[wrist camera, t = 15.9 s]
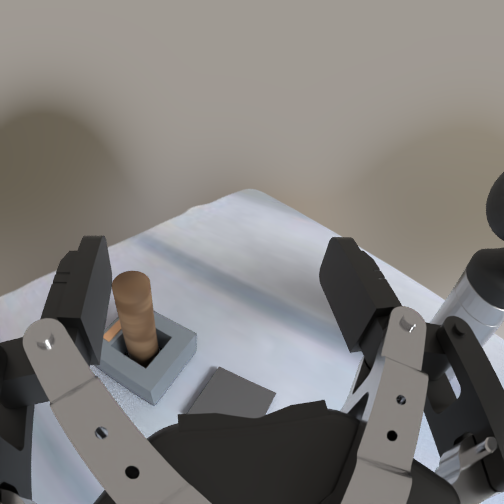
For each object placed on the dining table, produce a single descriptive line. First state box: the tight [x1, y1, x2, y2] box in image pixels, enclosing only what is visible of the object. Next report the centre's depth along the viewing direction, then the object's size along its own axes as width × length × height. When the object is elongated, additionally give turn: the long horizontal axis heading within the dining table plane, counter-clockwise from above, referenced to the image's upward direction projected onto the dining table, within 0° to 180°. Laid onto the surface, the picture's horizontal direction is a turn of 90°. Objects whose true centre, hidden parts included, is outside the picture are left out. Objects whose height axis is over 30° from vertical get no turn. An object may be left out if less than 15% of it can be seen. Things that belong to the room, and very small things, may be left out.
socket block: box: [95, 311, 197, 406], centre depth 38 cm, size 10×10×4 cm
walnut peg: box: [112, 271, 159, 369], centre depth 35 cm, size 4×4×14 cm
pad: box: [187, 367, 276, 418], centre depth 36 cm, size 8×8×1 cm
